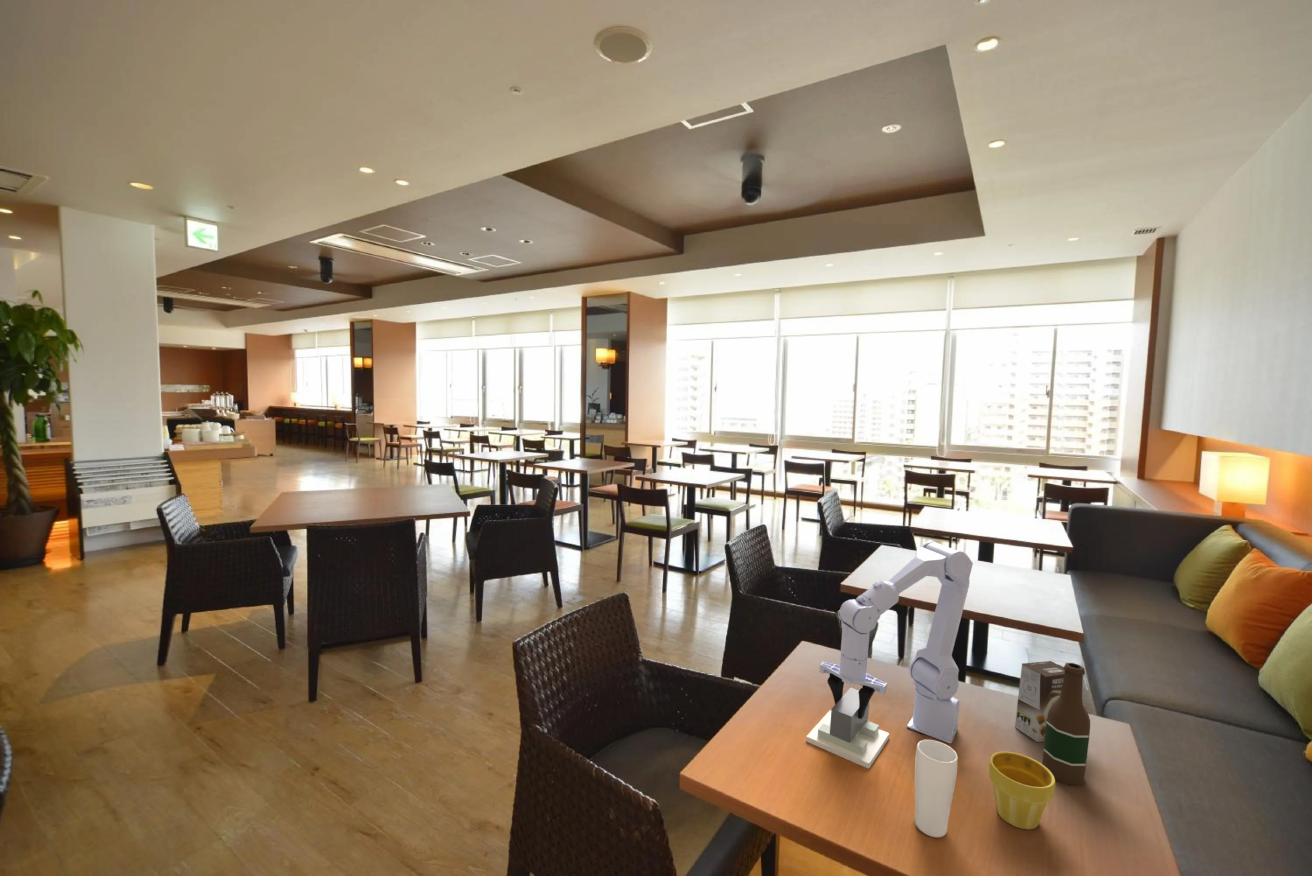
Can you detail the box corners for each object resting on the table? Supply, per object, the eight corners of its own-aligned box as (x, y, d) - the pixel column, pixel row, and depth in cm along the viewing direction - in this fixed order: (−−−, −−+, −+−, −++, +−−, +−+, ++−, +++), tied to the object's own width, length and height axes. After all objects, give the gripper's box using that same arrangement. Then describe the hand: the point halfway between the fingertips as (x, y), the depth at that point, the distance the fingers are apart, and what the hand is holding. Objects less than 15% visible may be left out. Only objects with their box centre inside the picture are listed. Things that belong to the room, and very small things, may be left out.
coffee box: (1038, 743, 131) (1045, 676, 130) (1013, 727, 137) (1020, 663, 136) (1068, 738, 134) (1075, 672, 132) (1043, 722, 140) (1050, 659, 138)
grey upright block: (868, 718, 133) (869, 694, 133) (849, 743, 124) (851, 716, 123) (848, 711, 136) (850, 687, 135) (829, 734, 127) (831, 708, 126)
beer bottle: (1077, 767, 123) (1089, 661, 121) (1091, 791, 116) (1104, 678, 114) (1035, 758, 126) (1046, 654, 123) (1047, 781, 118) (1059, 670, 116)
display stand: (888, 738, 131) (890, 725, 131) (868, 769, 120) (869, 755, 120) (829, 714, 140) (830, 703, 139) (806, 741, 129) (806, 728, 128)
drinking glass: (958, 843, 101) (965, 763, 100) (919, 841, 101) (926, 762, 100) (940, 815, 108) (946, 739, 106) (903, 813, 108) (910, 738, 106)
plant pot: (1009, 839, 102) (1014, 788, 102) (973, 797, 113) (978, 750, 112) (1063, 838, 103) (1069, 787, 102) (1023, 797, 113) (1028, 750, 113)
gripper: (816, 650, 129) (812, 707, 131) (881, 672, 120) (876, 733, 122) (827, 640, 135) (824, 695, 136) (891, 660, 126) (886, 719, 127)
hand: (849, 712), depth 129 cm, fingers closed on grey upright block, 4 cm apart
